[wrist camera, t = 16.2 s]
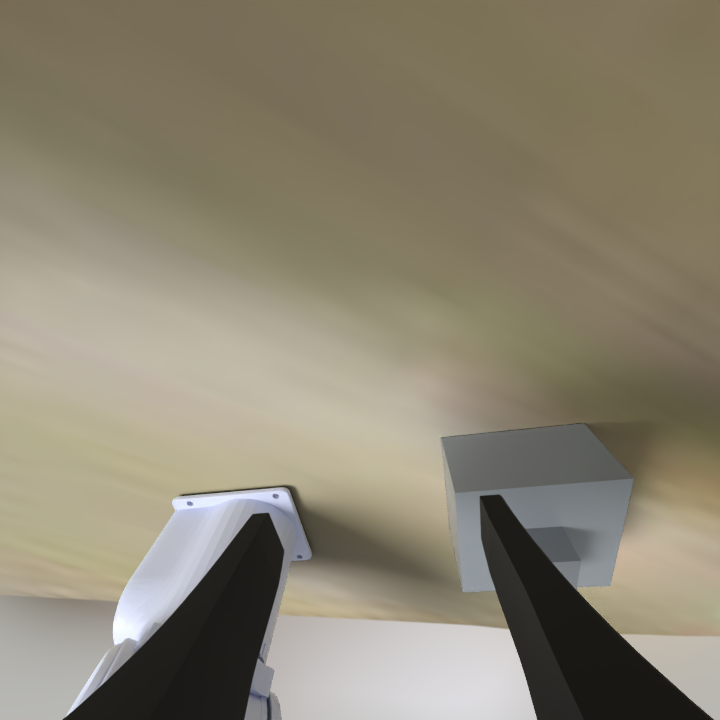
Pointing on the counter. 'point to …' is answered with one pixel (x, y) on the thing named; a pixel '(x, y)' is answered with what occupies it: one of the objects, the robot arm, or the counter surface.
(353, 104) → the counter surface
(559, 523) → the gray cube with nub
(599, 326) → the counter surface
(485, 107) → the counter surface
